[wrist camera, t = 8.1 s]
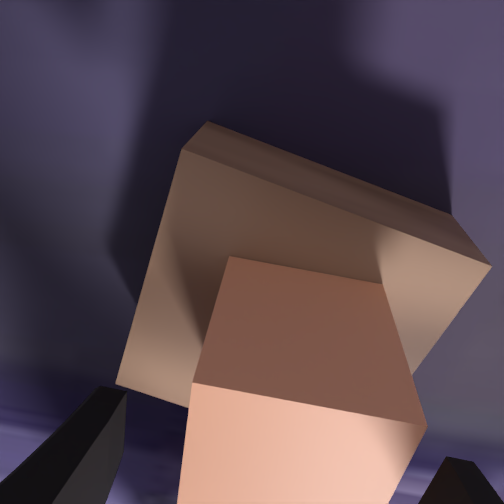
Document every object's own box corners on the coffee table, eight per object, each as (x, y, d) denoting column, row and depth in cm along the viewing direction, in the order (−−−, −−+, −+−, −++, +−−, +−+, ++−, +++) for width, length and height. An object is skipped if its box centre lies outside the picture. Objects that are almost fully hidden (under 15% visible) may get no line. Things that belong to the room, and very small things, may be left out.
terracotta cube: (343, 395, 15) (361, 554, 10) (211, 370, 15) (175, 518, 10) (382, 284, 13) (427, 426, 8) (229, 256, 13) (192, 382, 8)
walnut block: (339, 382, 20) (348, 461, 16) (149, 316, 19) (115, 383, 16) (448, 210, 16) (492, 266, 12) (209, 118, 15) (181, 148, 11)
